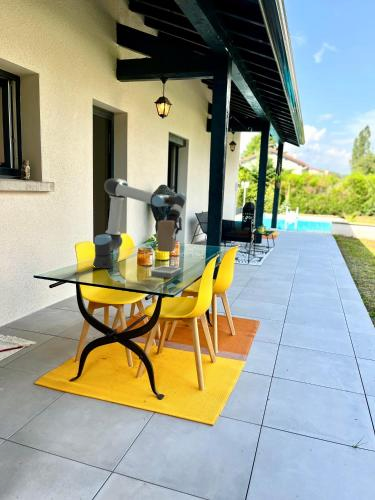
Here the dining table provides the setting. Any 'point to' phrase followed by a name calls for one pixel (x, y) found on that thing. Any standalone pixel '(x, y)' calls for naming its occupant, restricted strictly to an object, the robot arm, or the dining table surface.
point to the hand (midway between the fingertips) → (164, 237)
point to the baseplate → (165, 271)
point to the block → (166, 235)
